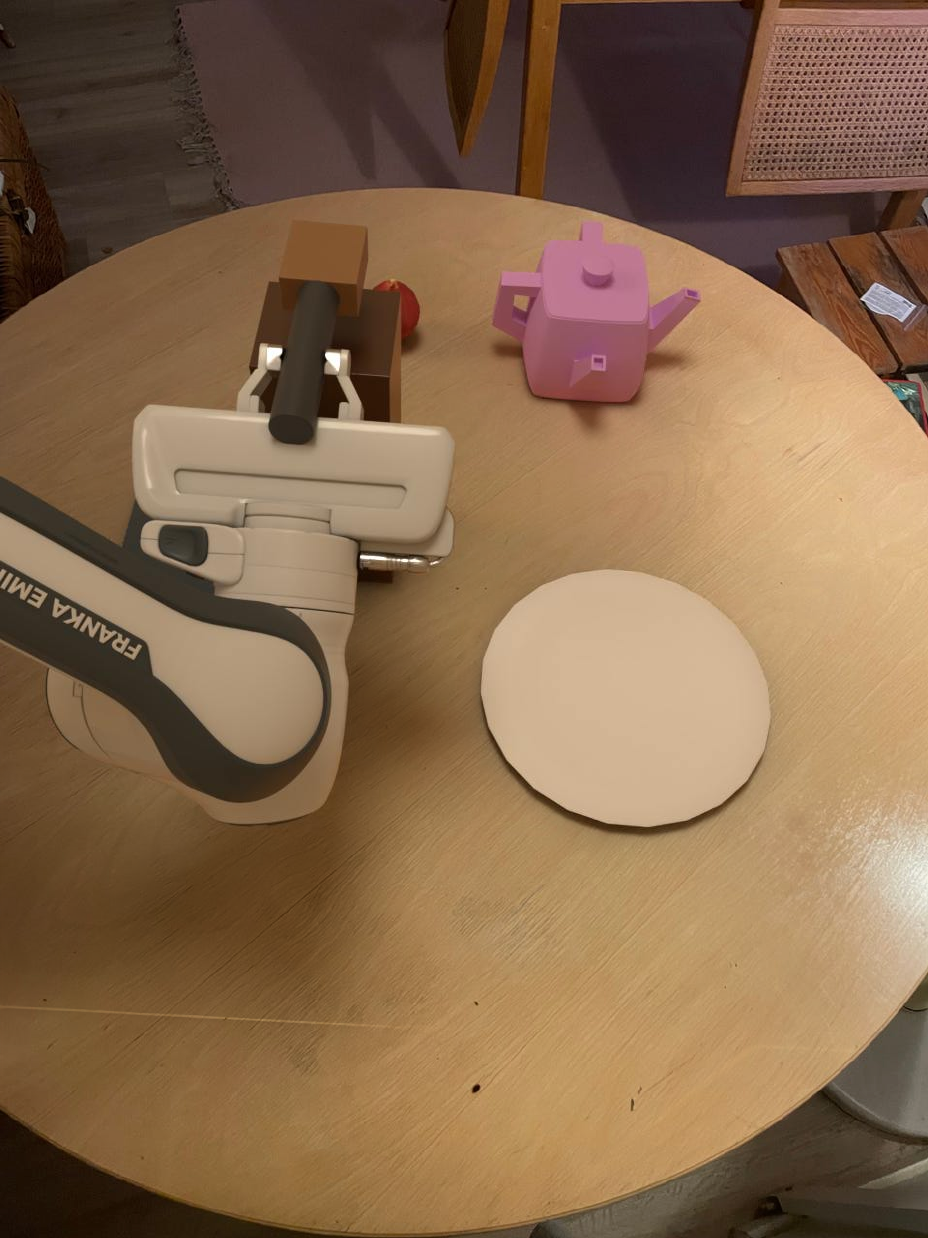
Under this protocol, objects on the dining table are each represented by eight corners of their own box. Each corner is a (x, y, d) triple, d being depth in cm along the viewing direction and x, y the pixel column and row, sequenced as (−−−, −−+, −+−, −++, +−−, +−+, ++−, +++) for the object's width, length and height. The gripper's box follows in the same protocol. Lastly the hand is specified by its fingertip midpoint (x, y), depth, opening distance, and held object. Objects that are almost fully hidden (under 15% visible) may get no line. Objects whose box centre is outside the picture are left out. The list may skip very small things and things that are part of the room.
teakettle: (576, 282, 119) (593, 187, 108) (690, 363, 113) (719, 269, 102) (469, 351, 112) (476, 256, 101) (584, 440, 106) (604, 349, 95)
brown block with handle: (334, 449, 64) (332, 418, 62) (251, 442, 64) (245, 410, 62) (368, 259, 74) (367, 226, 72) (295, 252, 74) (292, 219, 72)
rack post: (283, 575, 95) (248, 365, 73) (297, 498, 100) (268, 280, 78) (392, 583, 95) (389, 376, 73) (401, 506, 100) (401, 291, 78)
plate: (595, 892, 81) (599, 885, 79) (424, 656, 91) (424, 646, 90) (826, 737, 89) (833, 728, 88) (644, 537, 100) (648, 526, 98)
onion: (354, 335, 112) (351, 274, 106) (395, 312, 115) (395, 251, 108) (388, 364, 110) (387, 305, 103) (430, 341, 112) (431, 281, 106)
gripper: (452, 571, 63) (468, 346, 63) (113, 546, 62) (133, 320, 63) (451, 579, 69) (466, 374, 70) (144, 556, 69) (161, 351, 69)
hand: (305, 348), depth 66 cm, fingers closed on brown block with handle, 3 cm apart
